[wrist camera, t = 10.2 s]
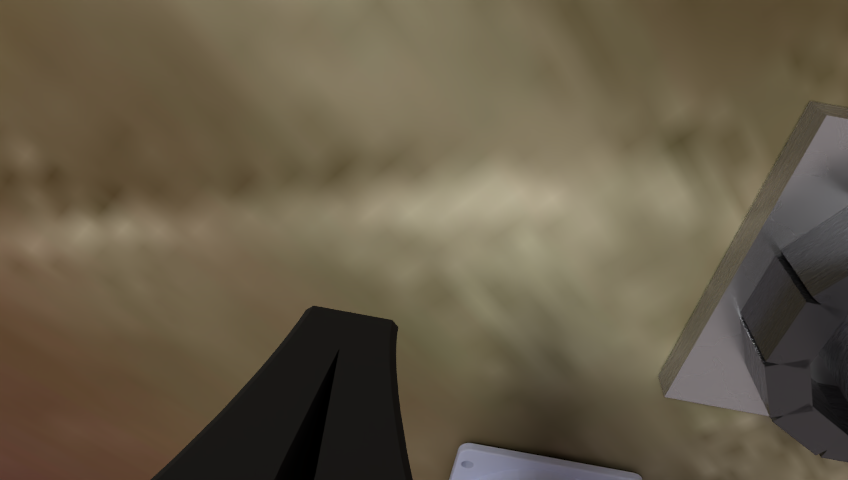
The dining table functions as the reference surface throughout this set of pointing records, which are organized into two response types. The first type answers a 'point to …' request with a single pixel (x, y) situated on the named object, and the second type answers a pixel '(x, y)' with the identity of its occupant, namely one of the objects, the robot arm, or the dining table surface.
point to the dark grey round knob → (837, 356)
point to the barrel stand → (779, 297)
